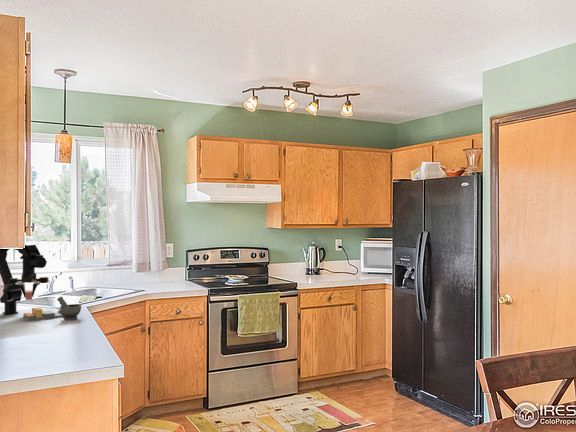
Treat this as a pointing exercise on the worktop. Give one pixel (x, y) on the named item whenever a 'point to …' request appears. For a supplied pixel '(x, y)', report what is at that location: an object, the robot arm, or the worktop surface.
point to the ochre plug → (37, 312)
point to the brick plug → (28, 295)
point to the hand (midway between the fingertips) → (28, 296)
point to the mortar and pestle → (69, 310)
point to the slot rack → (45, 315)
